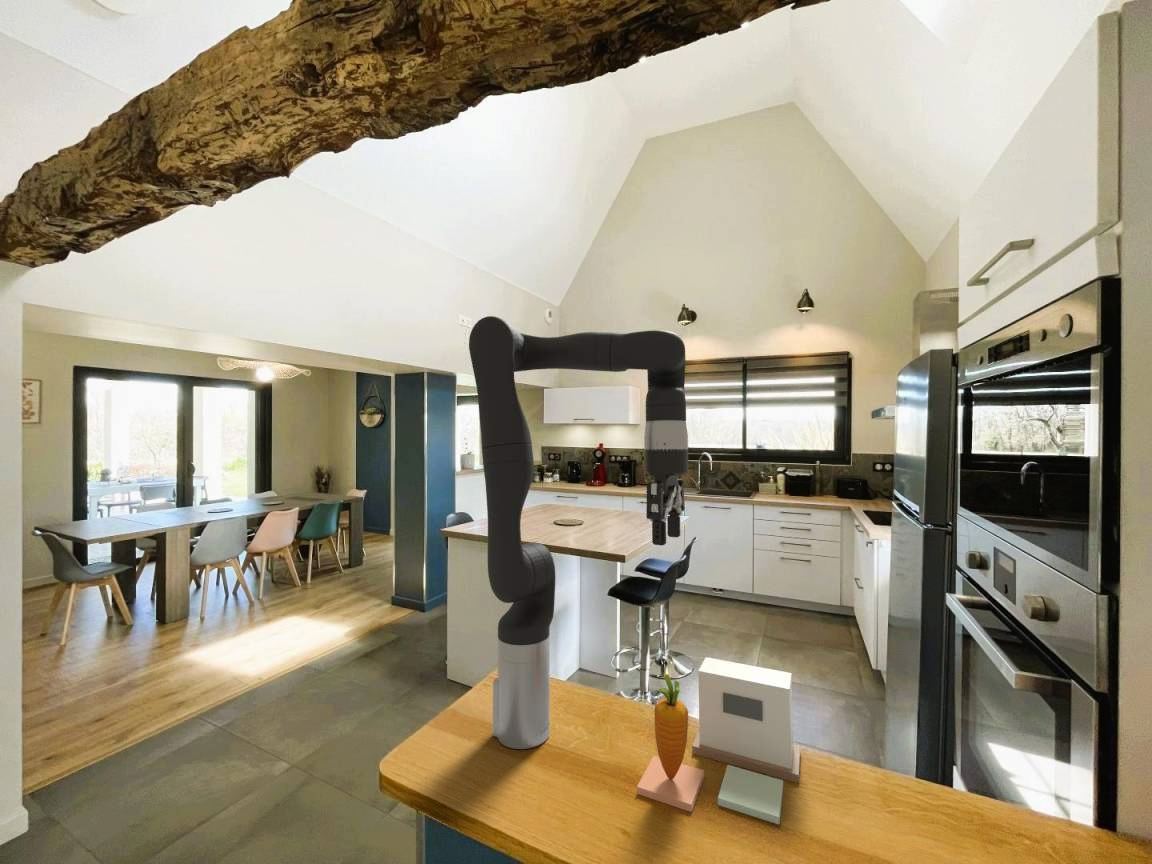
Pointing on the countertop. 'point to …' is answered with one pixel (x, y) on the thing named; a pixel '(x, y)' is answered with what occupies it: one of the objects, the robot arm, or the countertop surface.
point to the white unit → (747, 718)
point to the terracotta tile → (671, 785)
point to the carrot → (671, 728)
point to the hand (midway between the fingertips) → (667, 540)
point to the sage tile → (751, 794)
